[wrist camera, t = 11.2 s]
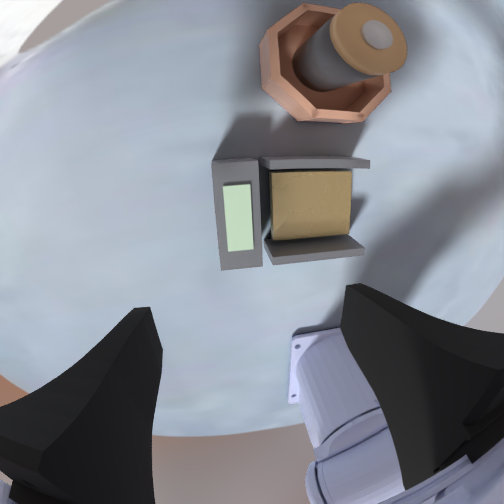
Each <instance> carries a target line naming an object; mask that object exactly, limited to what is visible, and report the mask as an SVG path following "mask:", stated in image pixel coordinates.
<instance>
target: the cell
mask: <svg viewBox="0 0 504 504" xmlns="http://www.w3.org/2000/svg"><path fill="white" fill-rule="evenodd" d="M406 57H407V45H406V41H405V37H404V35H403V33H402V31H401V29H400V28H399V26H398V25H397V24H396V22H395V21H394V20H393V19H392V18H391V17H390V16H389V15H388V14H386V13H385V12H384V11H382V10H381V9H379V8H377V7H375V6H372V5H370V4H365V3H352V4H349V5H347V6H345V7H344V8H343V9H342V10H340V11H339V12H338V13H337V14H336V15H334V16H333V17H332V18H331V19H330V20H329V21H327V22H326V23H325V24H324V25H323V26H322V27H321V28H320V29H318V30H317V31H316V32H315V33H314V34H313V35H312V36H311V37H310V38H309V39H308V40H306V41H305V42H304V43H303V44H302V45H301V46H300V47H299V48H298V49H297V50H296V51H295V53H294V55H293V59H292V67H293V71H294V73H295V75H296V77H297V78H298V80H299V81H300V82H301V83H302V84H303V85H305V86H306V87H308V88H310V89H312V90H314V91H319V92H328V91H332V90H335V89H338V88H340V87H343V86H346V85H350V84H353V83H356V82H359V81H362V80H366V79H369V78H372V77H376V76H379V75H383V74H387V73H391V72H394V71H396V70H398V69H399V68H401V67H402V66H403V64H404V62H405V60H406Z"/></svg>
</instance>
